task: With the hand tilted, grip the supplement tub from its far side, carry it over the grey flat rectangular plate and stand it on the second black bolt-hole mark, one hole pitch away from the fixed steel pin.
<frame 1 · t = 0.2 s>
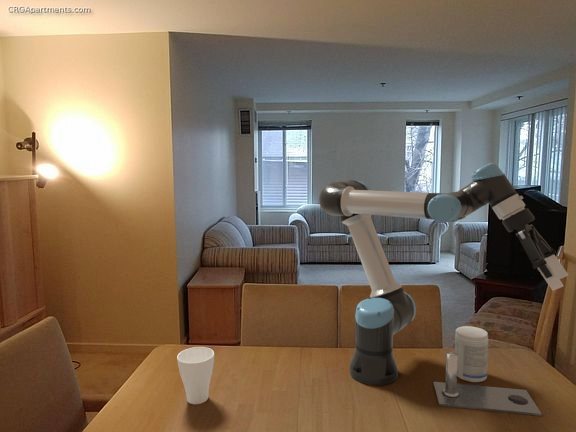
hand: (561, 282, 112), 35 cm above the table, tool tilted 35°, fingers open, 13 cm apart
steel pin: (450, 395, 123), resting on grey flat rectangular plate
grey flat rectangular plate: (483, 398, 121), on the table
cup: (197, 399, 123), on the table
supplement tub: (470, 376, 134), on the table
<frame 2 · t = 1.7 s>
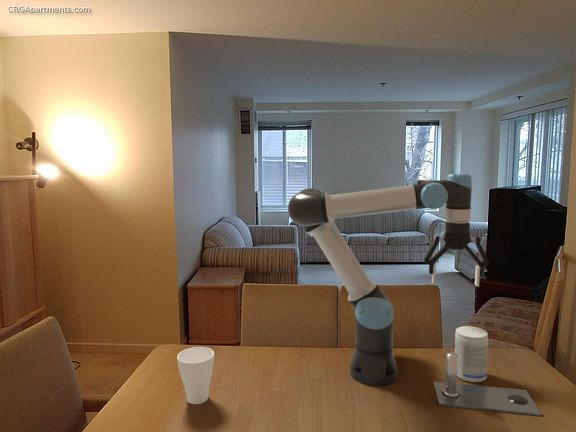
hand: (454, 284, 141), 27 cm above the table, tool pointing down, fingers open, 13 cm apart
nothing on the table moved.
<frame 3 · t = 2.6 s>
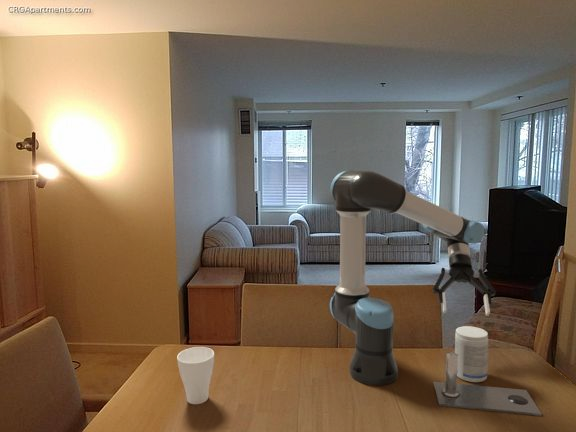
hand: (466, 312, 142), 17 cm above the table, tool tilted 45°, fingers open, 13 cm apart
nothing on the table moved.
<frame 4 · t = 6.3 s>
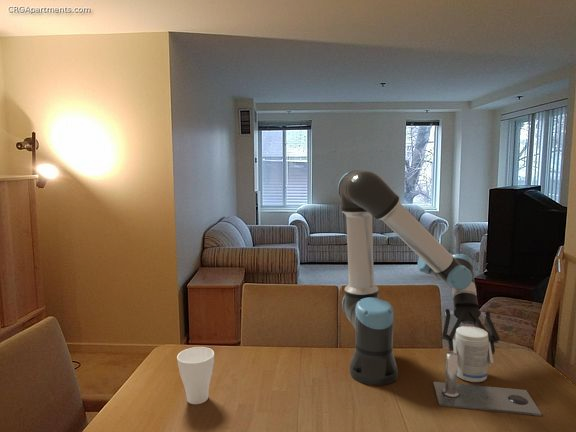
hand: (473, 362, 130), 6 cm above the table, tool tilted 45°, fingers closed on supplement tub, 9 cm apart
supplement tub: (470, 376, 134), on the table, touching gripper
everything else where it was.
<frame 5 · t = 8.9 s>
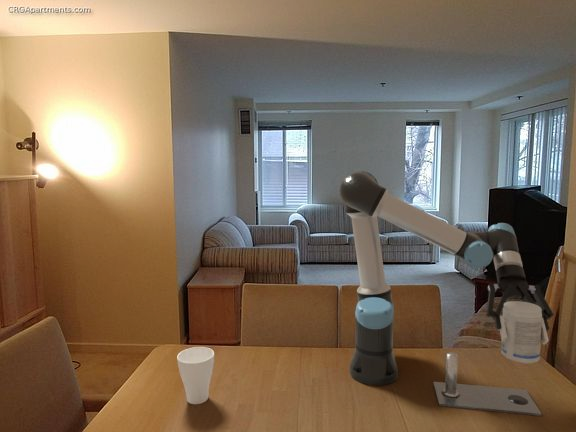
hand: (524, 341, 115), 19 cm above the table, tool tilted 45°, fingers closed on supplement tub, 9 cm apart
supplement tub: (519, 357, 119), point 13 cm above the table, touching gripper
everything else where it was.
when the fingers open (8 cm above the table, at t = 11.6 s): supplement tub drops 1 cm, resting on grey flat rectangular plate.
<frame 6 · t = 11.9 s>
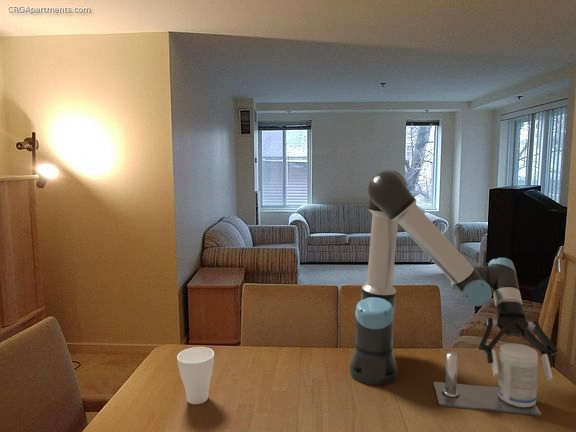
hand: (522, 377, 116), 9 cm above the table, tool tilted 45°, fingers open, 13 cm apart
supplement tub: (516, 399, 120), resting on grey flat rectangular plate
everything else where it was.
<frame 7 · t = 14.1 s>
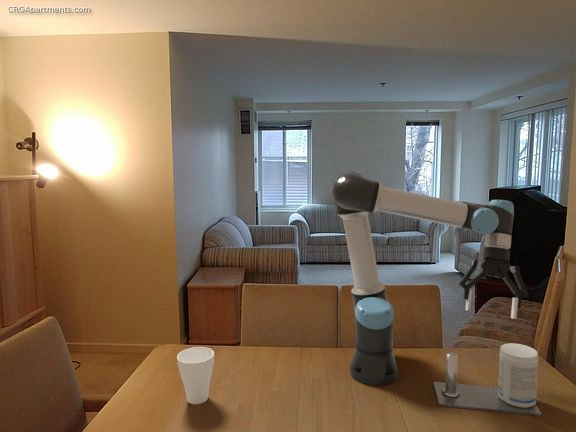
hand: (490, 314, 133), 19 cm above the table, tool tilted 20°, fingers open, 13 cm apart
nothing on the table moved.
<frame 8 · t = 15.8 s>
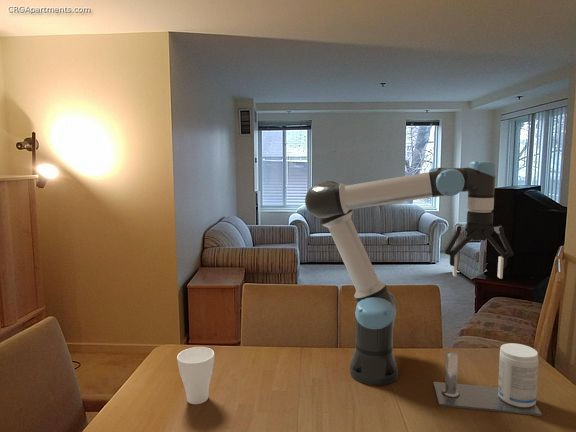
hand: (476, 276, 135), 31 cm above the table, tool pointing down, fingers open, 13 cm apart
nothing on the table moved.
at the end: supplement tub inside the target area on the grey flat rectangular plate (0.4 cm from its centre), point 0.4 cm above the grey flat rectangular plate's base; supplement tub tilted 0°; the gripper is holding nothing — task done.
